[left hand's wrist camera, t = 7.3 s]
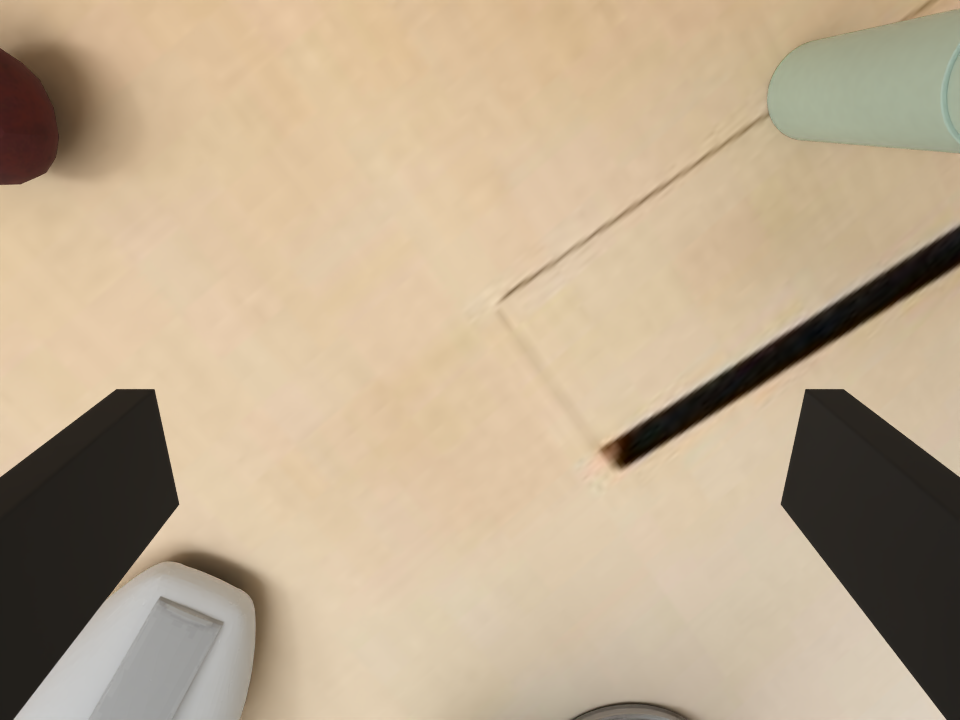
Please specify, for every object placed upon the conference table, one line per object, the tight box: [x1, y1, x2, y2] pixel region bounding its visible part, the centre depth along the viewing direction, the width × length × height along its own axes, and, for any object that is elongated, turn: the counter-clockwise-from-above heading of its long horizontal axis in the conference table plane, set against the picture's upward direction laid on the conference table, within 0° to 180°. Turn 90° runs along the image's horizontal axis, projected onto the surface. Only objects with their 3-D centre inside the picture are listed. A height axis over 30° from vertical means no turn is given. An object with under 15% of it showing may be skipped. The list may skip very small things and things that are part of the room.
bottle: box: [767, 9, 960, 153], centre depth 26 cm, size 5×5×21 cm
